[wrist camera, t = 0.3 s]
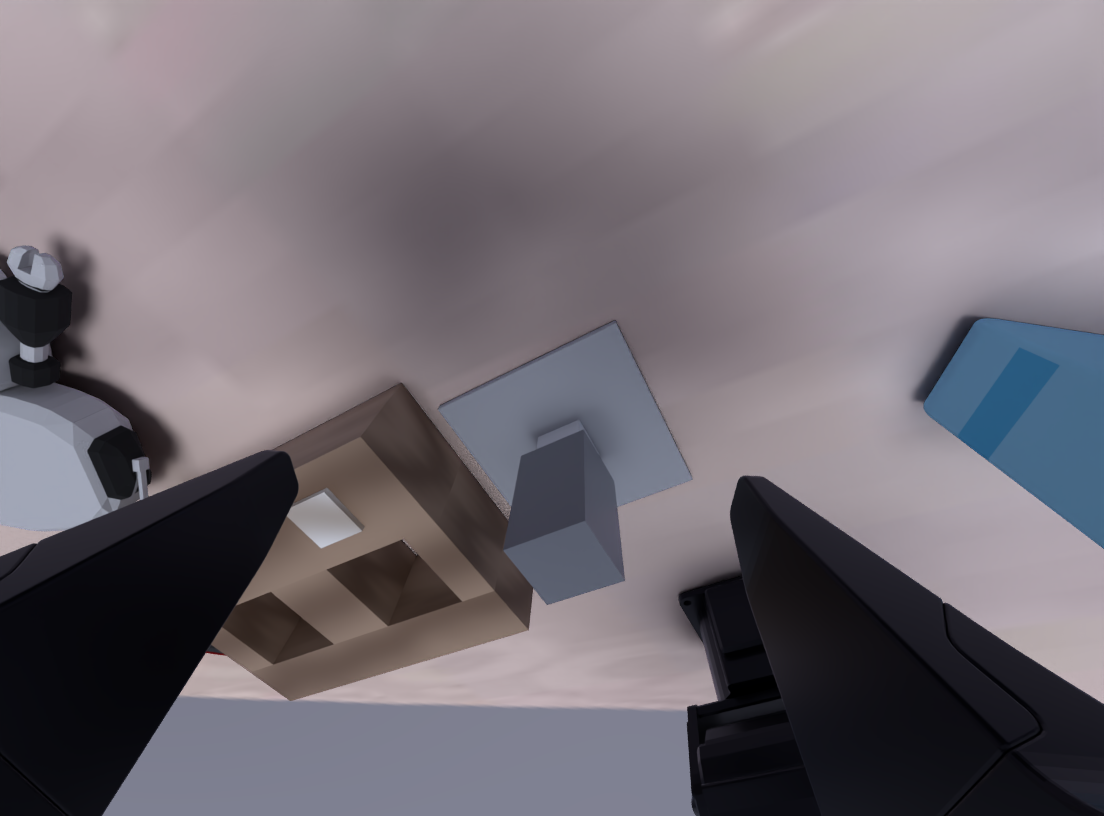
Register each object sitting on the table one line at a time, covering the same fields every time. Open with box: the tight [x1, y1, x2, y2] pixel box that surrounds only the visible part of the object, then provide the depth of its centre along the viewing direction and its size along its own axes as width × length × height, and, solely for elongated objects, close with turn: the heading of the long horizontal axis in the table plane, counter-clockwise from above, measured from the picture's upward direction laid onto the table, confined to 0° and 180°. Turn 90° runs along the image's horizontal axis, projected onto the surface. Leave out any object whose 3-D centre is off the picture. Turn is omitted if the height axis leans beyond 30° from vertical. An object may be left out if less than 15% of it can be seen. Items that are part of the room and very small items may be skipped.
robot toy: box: [0, 246, 151, 531], centre depth 23 cm, size 12×4×15 cm
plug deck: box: [438, 321, 693, 507], centre depth 24 cm, size 10×10×1 cm
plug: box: [503, 420, 625, 605], centre depth 21 cm, size 3×3×8 cm
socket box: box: [211, 383, 533, 701], centre depth 26 cm, size 14×18×5 cm
